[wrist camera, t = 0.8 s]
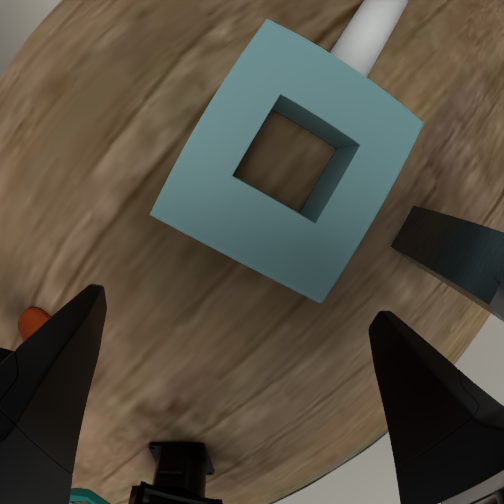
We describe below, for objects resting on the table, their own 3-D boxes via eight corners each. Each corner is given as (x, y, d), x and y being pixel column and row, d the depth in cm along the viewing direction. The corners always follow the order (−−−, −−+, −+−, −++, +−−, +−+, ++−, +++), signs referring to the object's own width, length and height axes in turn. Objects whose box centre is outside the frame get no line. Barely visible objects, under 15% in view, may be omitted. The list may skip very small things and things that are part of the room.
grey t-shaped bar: (426, 272, 24) (533, 344, 11) (382, 240, 23) (501, 310, 10) (447, 235, 23) (562, 286, 10) (405, 199, 22) (536, 236, 9)
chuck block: (306, 280, 24) (321, 304, 19) (165, 205, 21) (149, 214, 17) (431, 48, 19) (460, 34, 14) (317, -29, 17) (331, -57, 12)
